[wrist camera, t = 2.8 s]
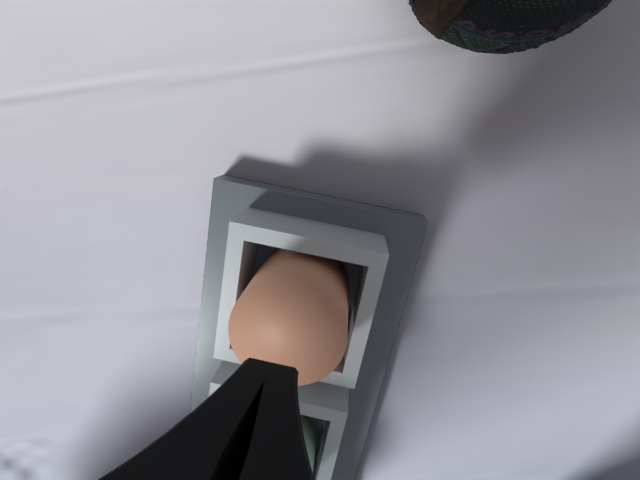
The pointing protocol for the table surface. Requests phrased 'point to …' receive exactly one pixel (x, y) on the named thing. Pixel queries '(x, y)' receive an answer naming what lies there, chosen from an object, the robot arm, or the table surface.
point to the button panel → (364, 298)
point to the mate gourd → (503, 21)
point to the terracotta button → (294, 314)
